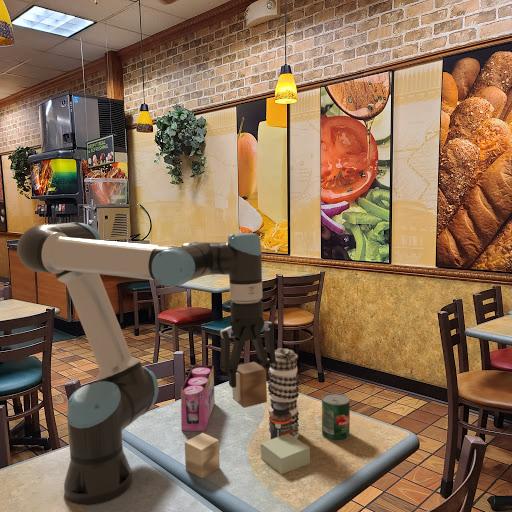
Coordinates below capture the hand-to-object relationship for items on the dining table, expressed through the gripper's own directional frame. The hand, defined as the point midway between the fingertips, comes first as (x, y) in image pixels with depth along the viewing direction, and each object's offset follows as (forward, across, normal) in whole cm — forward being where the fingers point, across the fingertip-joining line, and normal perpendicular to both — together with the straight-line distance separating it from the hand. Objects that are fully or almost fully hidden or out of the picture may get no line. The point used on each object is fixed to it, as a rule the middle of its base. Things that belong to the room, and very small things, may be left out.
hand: (249, 396), depth 109 cm
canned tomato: (+22, +31, +8) cm, 39 cm away
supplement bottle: (+21, +15, +11) cm, 28 cm away
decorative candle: (+21, +18, +15) cm, 32 cm away
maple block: (+21, -9, +10) cm, 25 cm away
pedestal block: (+22, +11, +3) cm, 25 cm away
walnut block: (+1, 0, 0) cm, 1 cm away
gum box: (+21, +1, +39) cm, 44 cm away
